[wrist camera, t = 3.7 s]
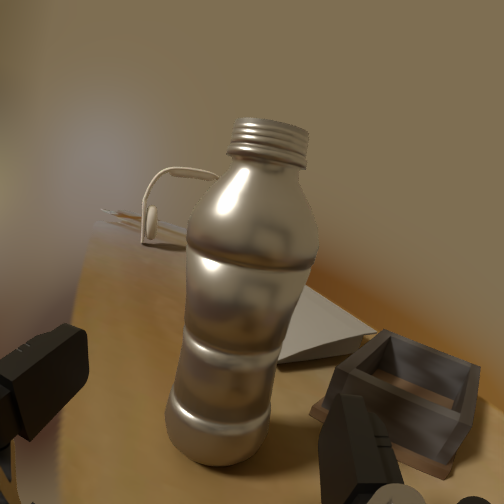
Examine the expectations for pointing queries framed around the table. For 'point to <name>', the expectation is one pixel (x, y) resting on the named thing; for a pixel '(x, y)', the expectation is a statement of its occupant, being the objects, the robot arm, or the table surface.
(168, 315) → the table surface
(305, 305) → the white router
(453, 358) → the open square tray
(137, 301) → the table surface
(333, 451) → the robot arm
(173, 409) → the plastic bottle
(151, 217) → the headset
